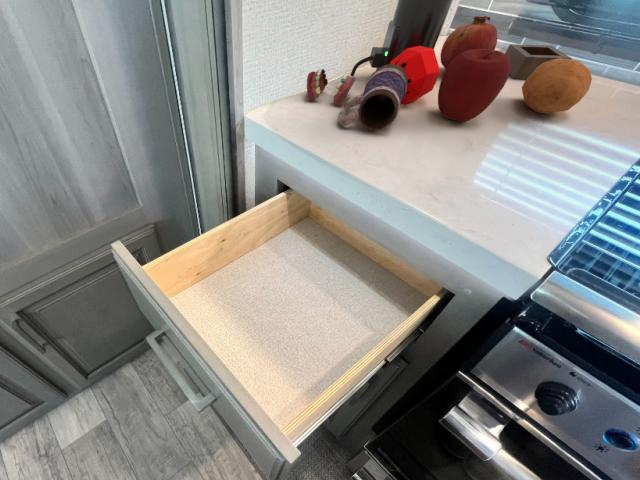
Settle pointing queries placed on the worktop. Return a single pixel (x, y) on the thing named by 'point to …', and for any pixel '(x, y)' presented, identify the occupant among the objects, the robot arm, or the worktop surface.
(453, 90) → the apple
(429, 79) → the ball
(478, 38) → the fruit
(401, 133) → the worktop surface
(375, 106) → the mug
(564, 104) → the potato
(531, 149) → the worktop surface
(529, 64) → the socket
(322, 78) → the dentures
